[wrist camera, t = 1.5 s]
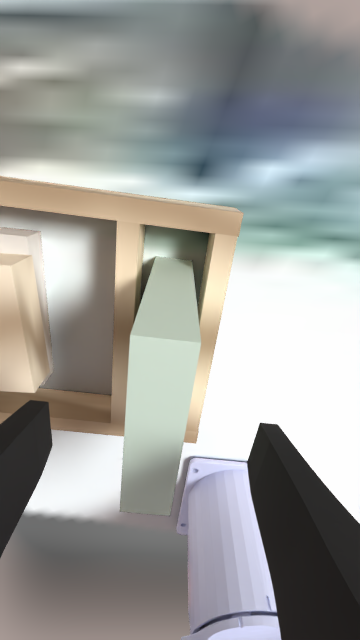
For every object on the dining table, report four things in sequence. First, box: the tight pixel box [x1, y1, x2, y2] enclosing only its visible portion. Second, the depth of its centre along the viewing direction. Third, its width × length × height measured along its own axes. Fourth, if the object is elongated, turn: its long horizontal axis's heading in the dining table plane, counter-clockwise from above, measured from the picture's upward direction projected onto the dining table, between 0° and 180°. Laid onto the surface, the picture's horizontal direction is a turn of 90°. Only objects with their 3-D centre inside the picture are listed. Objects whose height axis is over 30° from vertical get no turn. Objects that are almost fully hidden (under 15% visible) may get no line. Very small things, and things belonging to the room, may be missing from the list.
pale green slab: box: [120, 256, 201, 516], centre depth 14 cm, size 8×2×9 cm, turn 173°
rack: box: [0, 176, 243, 443], centre depth 17 cm, size 14×16×2 cm
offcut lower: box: [0, 227, 54, 385], centre depth 17 cm, size 9×4×2 cm, turn 174°
